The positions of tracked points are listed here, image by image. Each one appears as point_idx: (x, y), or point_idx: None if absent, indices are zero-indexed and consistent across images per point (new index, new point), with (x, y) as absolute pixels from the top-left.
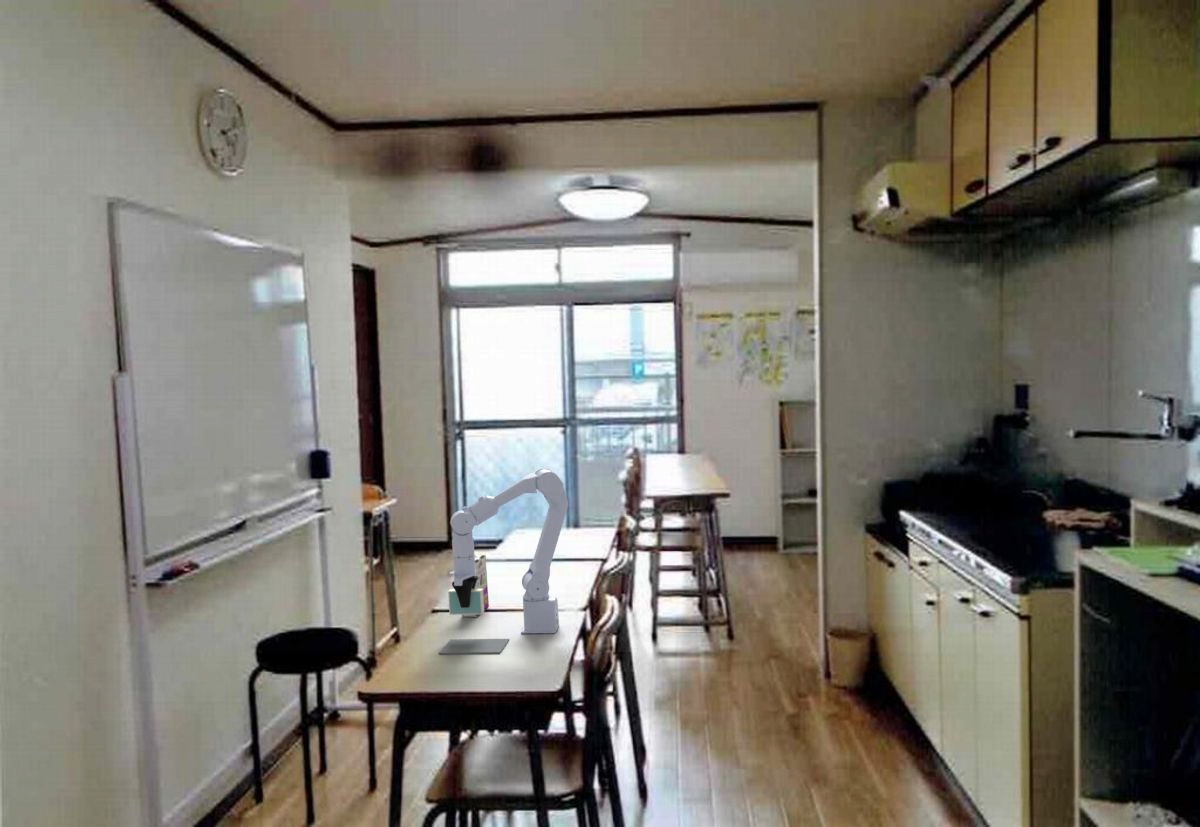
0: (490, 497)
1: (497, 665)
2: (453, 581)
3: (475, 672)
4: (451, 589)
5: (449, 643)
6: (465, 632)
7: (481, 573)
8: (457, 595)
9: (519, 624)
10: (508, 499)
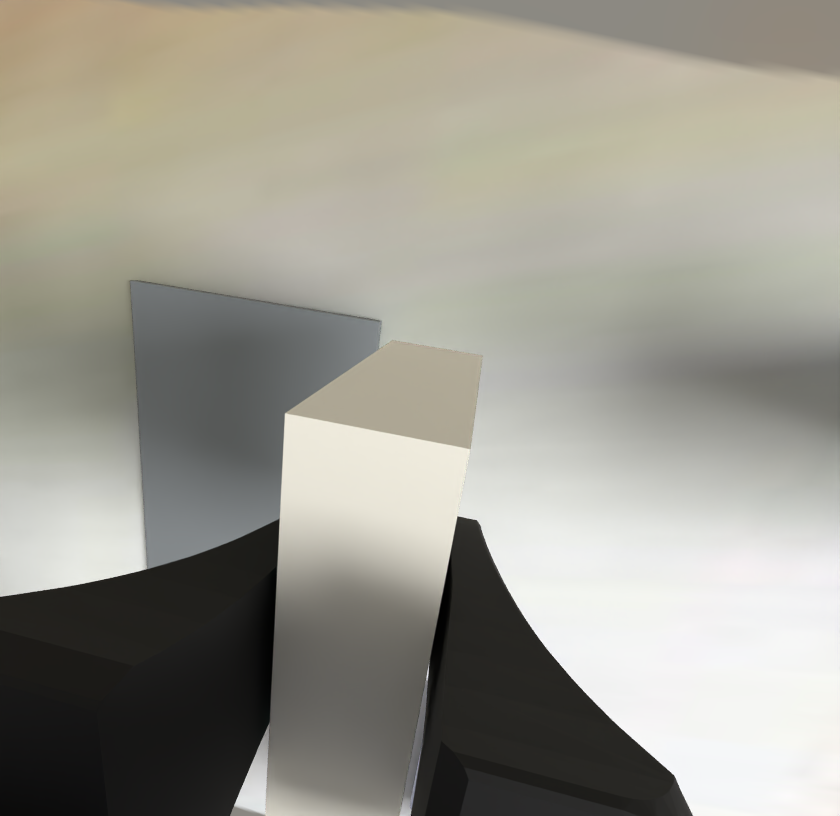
0: None
1: (20, 563)
2: (59, 702)
3: None
4: (429, 468)
5: (294, 325)
6: (548, 402)
7: None
8: (228, 542)
9: (625, 692)
10: None
